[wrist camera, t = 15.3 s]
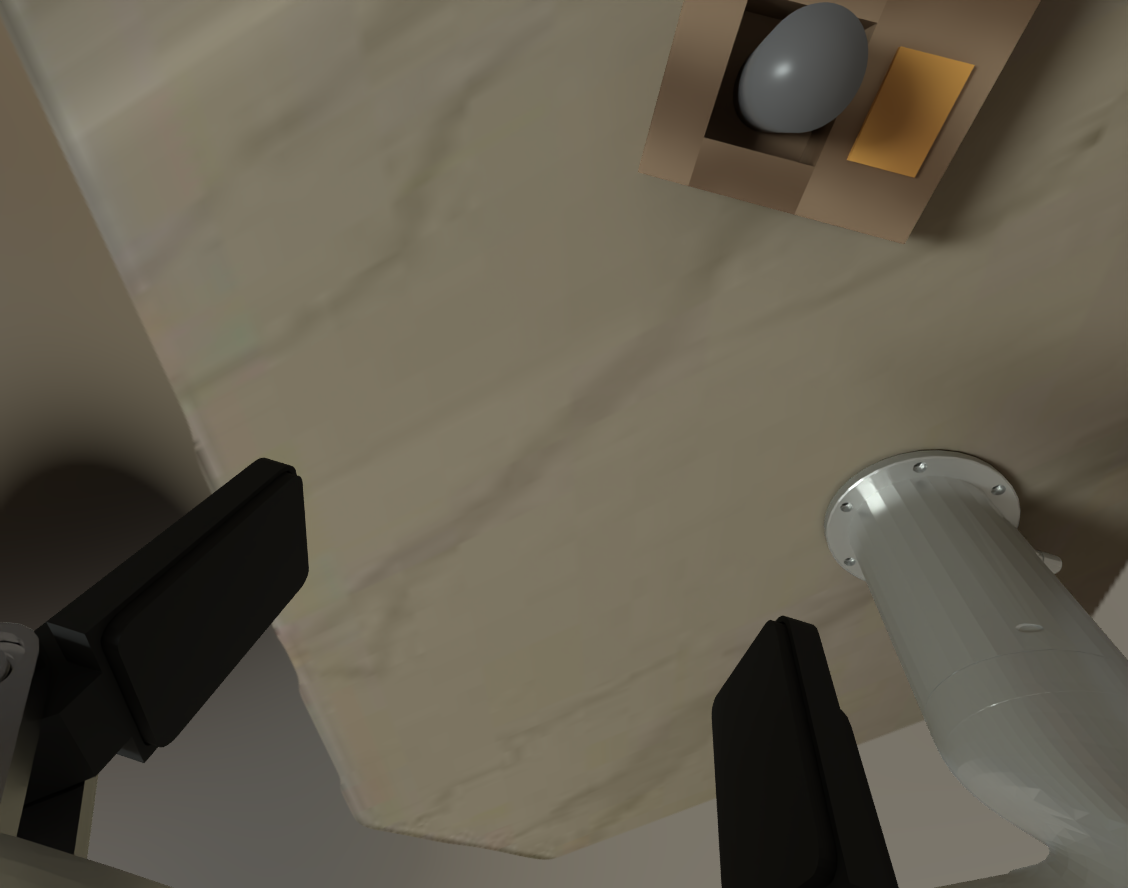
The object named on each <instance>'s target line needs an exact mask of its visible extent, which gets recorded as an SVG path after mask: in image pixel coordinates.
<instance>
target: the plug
mask: <svg viewBox="0 0 1128 888" xmlns="http://www.w3.org/2000/svg"><path fill="white" fill-rule="evenodd" d="M867 62H868V41H867V37H866V33H865V30H864V28H863V26H862V24H861V22H860V21H859V19H858V18H857V17H856V16H855V14H854V13H852V12H851V11H850V10H849V9H847V8H845V7H843V6H841V5H838V4H835V3H829V2H821V3H814V4H810V5H807V6H804V7H802V8H800V9H798V10H796V11H794V12H793V13H791V14H790V15H788V16H787V17H786V18H785V19H783V20H782V21H781V22H780V23H779V24H778V25H777V26H776V27H775V28H774V29H773V30H772V32H771V33H770V34H769V35H768V36H767V37H766V38H765V39H764V40H763V41H762V42H761V43H760V45H759V46H758V47H757V48H756V49H755V50H754V51H753V52H752V53H751V54H750V55H749V57H748V58H747V59H746V60H745V62H744V63H743V65H742V66H741V68H740V70H739V72H738V74H737V77H736V80H735V83H734V89H733V103H734V108H735V111H736V113H737V115H738V117H739V119H740V120H741V121H742V123H743V124H744V125H746V126H747V127H748V128H750V129H752V130H754V131H757V132H773V133H802V132H808V131H812V130H815V129H818V128H820V127H822V126H824V125H826V124H828V123H829V122H830V121H832V120H833V119H835V118H836V117H837V116H838V115H839V114H841V113H842V112H843V110H844V109H845V108H846V107H847V106H848V105H849V104H850V102H851V101H852V100H853V98H854V96H855V95H856V93H857V92H858V90H859V88H860V86H861V83H862V81H863V78H864V75H865V72H866V68H867Z"/></svg>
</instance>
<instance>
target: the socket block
mask: <svg viewBox="0 0 1128 888" xmlns="http://www.w3.org/2000/svg"><path fill="white" fill-rule="evenodd" d="M1040 1H1041V0H684V1H683V5H682V9H681V13H680V16H679V20H678V24H677V28H676V31H675V35H674V39H673V43H672V46H671V50H670V54H669V57H668V61H667V65H666V69H665V72H664V76H663V80H662V84H661V87H660V91H659V95H658V99H657V102H656V106H655V110H654V114H653V117H652V121H651V125H650V128H649V132H648V136H647V140H646V143H645V147H644V151H643V155H642V158H641V162H640V166H639V170H638V172H639V173H643V174H647V175H650V176H654V177H658V178H661V179H665V180H669V181H672V182H676V183H680V184H684V185H687V186H691V187H695V188H698V189H702V190H706V191H709V192H713V193H717V194H721V195H724V196H728V197H732V198H735V199H739V200H743V201H746V202H750V203H754V204H758V205H761V206H765V207H769V208H772V209H776V210H780V211H783V212H787V213H791V214H795V215H798V216H802V217H806V218H809V219H813V220H817V221H820V222H824V223H828V224H832V225H835V226H839V227H843V228H846V229H850V230H854V231H857V232H861V233H865V234H868V235H872V236H876V237H880V238H883V239H887V240H891V241H894V242H898V243H902V244H905V242H906V240H907V239H908V237H909V235H910V233H911V232H912V230H913V228H914V226H915V224H916V223H917V221H918V219H919V217H920V215H921V214H922V212H923V210H924V208H925V207H926V205H927V203H928V201H929V199H930V198H931V196H932V194H933V192H934V190H935V189H936V187H937V185H938V183H939V182H940V180H941V178H942V176H943V174H944V173H945V171H946V169H947V167H948V165H949V164H950V162H951V160H952V158H953V157H954V155H955V153H956V151H957V149H958V148H959V146H960V144H961V142H962V140H963V139H964V137H965V135H966V133H967V132H968V130H969V128H970V126H971V124H972V123H973V121H974V119H975V117H976V115H977V114H978V112H979V110H980V108H981V107H982V105H983V103H984V101H985V99H986V98H987V96H988V94H989V92H990V90H991V89H992V87H993V85H994V83H995V81H996V80H997V78H998V76H999V74H1000V73H1001V71H1002V69H1003V67H1004V65H1005V64H1006V62H1007V60H1008V58H1009V56H1010V55H1011V53H1012V51H1013V49H1014V48H1015V46H1016V44H1017V42H1018V40H1019V39H1020V37H1021V35H1022V33H1023V31H1024V30H1025V28H1026V26H1027V24H1028V23H1029V21H1030V19H1031V17H1032V15H1033V14H1034V12H1035V10H1036V8H1037V6H1038V5H1039V3H1040ZM821 2H829V3H835V4H838V5H841V6H843V7H845V8H847V9H849V10H850V11H851V12H852V13H854V14H855V16H856V17H857V18H858V19H859V21H860V22H861V24H862V26H863V28H864V30H865V33H866V37H867V41H868V62H867V68H866V72H865V75H864V78H863V81H862V83H861V86H860V88H859V90H858V92H857V93H856V95H855V96H854V98H853V100H852V101H851V102H850V104H849V105H848V106H847V107H846V108H845V109H844V110H843V112H842V113H841V114H839V115H838V116H837V117H836V118H835V119H833V120H832V121H830V122H829V123H828V124H826V125H824V126H822V127H820V128H818V129H815V130H812V131H808V132H802V133H773V132H757V131H754V130H752V129H750V128H748V127H747V126H746V125H744V124H743V123H742V121H741V120H740V119H739V117H738V115H737V113H736V111H735V108H734V103H733V89H734V83H735V80H736V77H737V74H738V72H739V70H740V68H741V66H742V65H743V63H744V62H745V60H746V59H747V58H748V57H749V55H750V54H751V53H752V52H753V51H754V50H755V49H756V48H757V47H758V46H759V45H760V43H761V42H762V41H763V40H764V39H765V38H766V37H767V36H768V35H769V34H770V33H771V32H772V30H773V29H774V28H775V27H776V26H777V25H778V24H779V23H780V22H781V21H782V20H783V19H785V18H786V17H787V16H788V15H790V14H791V13H793V12H794V11H796V10H798V9H800V8H802V7H804V6H807V5H810V4H814V3H821Z"/></svg>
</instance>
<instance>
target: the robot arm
mask: <svg viewBox="0 0 1128 888" xmlns="http://www.w3.org/2000/svg"><path fill="white" fill-rule="evenodd" d="M1020 513H1021V510H1020V504H1019V498H1018V496H1017V494H1016V492H1015V490H1014V488H1013V486H1012V485H1011V484H1010V483H1009V482H1008V481H1007V480H1006V478H1005V477H1004V476H1003V475H1002V474H1001V473H1000V472H999V471H997V470H996V469H995V468H994V467H992V466H991V465H990V464H988V463H986V462H984V461H982V460H980V459H978V458H976V457H973V456H970V455H966V454H963V453H959V452H952V451H943V450H928V451H916V452H910V453H904V454H900V455H896V456H893V457H890V458H887V459H884V460H881V461H879V462H877V463H875V464H873V465H871V466H869V467H867V468H865V469H863V470H862V471H860V472H859V473H857V474H856V475H854V476H853V477H852V478H850V479H849V480H848V481H847V482H846V483H845V484H844V485H843V486H842V487H841V488H840V489H839V490H838V492H837V493H836V494H835V496H834V497H833V499H832V500H831V502H830V504H829V506H828V509H827V511H826V515H825V520H824V533H825V538H826V541H827V544H828V547H829V549H830V551H831V553H832V555H833V557H834V559H835V560H836V561H837V562H838V563H839V565H840V566H841V567H842V568H844V569H845V570H846V571H848V572H849V573H850V574H852V575H853V576H855V577H857V578H859V579H862V580H864V581H866V582H867V584H868V587H869V589H870V592H871V594H872V596H873V599H874V601H875V603H876V606H877V608H878V611H879V613H880V615H881V618H882V620H883V622H884V625H885V627H886V629H887V632H888V634H889V637H890V639H891V641H892V644H893V646H894V648H895V651H896V653H897V655H898V658H899V660H900V663H901V665H902V667H903V670H904V672H905V674H906V677H907V679H908V681H909V684H910V686H911V689H912V691H913V693H914V696H915V698H916V700H917V703H918V705H919V707H920V710H921V712H922V715H923V717H924V719H925V722H926V724H927V726H928V729H929V731H930V733H931V736H932V738H933V741H934V743H935V745H936V747H937V749H938V751H939V753H940V755H941V757H942V759H943V760H944V762H945V763H946V765H947V766H948V768H949V769H950V771H951V772H952V773H953V775H954V776H955V777H956V778H957V779H958V780H959V782H960V783H961V784H962V785H963V786H964V787H965V788H966V789H967V790H968V791H969V792H970V793H971V794H972V795H973V796H974V797H976V798H977V799H978V800H979V801H980V802H982V803H983V804H984V805H985V806H987V807H988V808H989V809H991V810H992V811H994V812H995V813H996V814H998V815H999V816H1001V817H1002V818H1004V819H1005V820H1007V821H1008V822H1010V823H1012V824H1013V825H1015V826H1016V827H1018V828H1019V829H1021V830H1022V831H1024V832H1026V833H1027V834H1029V835H1030V836H1032V837H1034V838H1035V839H1037V840H1039V841H1040V842H1042V843H1043V844H1045V845H1047V846H1048V847H1049V855H1048V856H1047V858H1046V859H1045V860H1044V861H1042V862H1040V863H1038V864H1036V865H1031V866H1028V867H1023V868H1019V869H1015V870H1012V871H1010V872H1009V873H1008V874H1004V875H998V876H993V877H988V878H983V879H977V880H973V881H967V882H962V883H957V884H951V885H947V886H941V887H936V888H1128V660H1127V659H1126V657H1125V656H1124V655H1123V654H1122V653H1121V652H1120V651H1119V649H1118V648H1117V647H1116V646H1115V645H1114V644H1113V642H1112V641H1111V640H1110V639H1109V638H1108V637H1107V635H1106V634H1105V633H1104V632H1103V631H1102V630H1101V628H1100V627H1099V626H1098V625H1097V624H1096V623H1095V621H1094V620H1093V619H1092V618H1091V617H1090V616H1089V614H1088V613H1087V612H1086V611H1085V610H1084V609H1083V607H1082V606H1081V605H1080V604H1079V603H1078V602H1077V600H1076V599H1075V598H1074V597H1073V596H1072V595H1071V593H1070V592H1069V591H1068V590H1067V589H1066V588H1065V586H1064V585H1063V584H1062V583H1061V582H1060V581H1059V579H1058V578H1057V577H1056V576H1055V575H1054V574H1056V573H1057V572H1059V571H1060V569H1061V568H1062V561H1061V559H1060V557H1058V556H1056V555H1053V554H1050V553H1046V552H1043V551H1039V550H1035V549H1034V548H1033V547H1032V546H1031V545H1030V543H1029V542H1028V541H1027V540H1026V539H1025V538H1024V536H1023V535H1022V534H1021V533H1020V532H1019V531H1018V529H1017V528H1018V526H1019V521H1020ZM308 572H309V565H308V551H307V538H306V524H305V510H304V497H303V483H302V478H301V477H300V476H297V474H296V470H295V468H294V467H293V466H290V465H287V464H284V463H280V462H277V461H274V460H270V459H267V458H260V459H258V460H256V461H254V462H253V463H252V464H251V465H249V466H248V467H247V468H245V469H244V470H243V471H241V472H240V473H239V474H238V475H236V476H235V477H234V478H232V479H231V480H230V481H229V482H227V483H226V484H225V485H223V486H222V487H221V488H219V489H218V490H217V491H216V492H214V493H213V494H212V495H210V496H209V497H208V498H207V499H205V500H204V501H203V502H201V503H200V504H199V505H197V506H196V507H195V508H193V509H192V510H191V511H190V512H188V513H187V514H186V515H185V516H183V517H182V518H180V519H179V520H178V521H177V522H175V523H174V524H173V525H171V526H170V527H169V528H167V529H166V530H165V531H164V532H162V533H161V534H160V535H158V536H157V537H156V538H154V539H153V540H152V541H151V542H149V543H148V544H147V545H145V546H144V547H143V548H141V549H140V550H139V551H138V552H136V553H135V554H134V555H132V556H131V557H130V558H128V559H127V560H126V561H125V562H123V563H122V564H121V565H119V566H118V567H117V568H115V569H114V570H113V571H112V572H110V573H109V574H108V575H107V576H105V577H104V578H102V579H101V580H100V581H99V582H97V583H96V584H95V585H93V586H92V587H91V588H89V589H88V590H87V591H86V592H84V593H83V594H82V595H80V596H79V597H78V598H76V599H75V600H74V601H73V602H71V603H70V604H69V605H67V606H66V607H65V608H63V609H62V610H61V611H60V612H58V613H57V614H56V615H54V616H53V617H52V618H50V619H49V620H48V621H47V622H46V623H44V624H43V625H42V626H40V627H39V628H38V629H36V630H35V631H33V630H32V629H30V628H28V627H26V626H23V625H21V624H16V623H5V622H0V888H173V887H170V886H167V885H164V884H160V883H158V882H155V881H152V880H149V879H146V878H143V877H140V876H137V875H134V874H131V873H128V872H125V871H123V870H120V869H116V868H114V867H110V866H107V865H104V864H101V863H98V862H94V861H91V860H88V859H87V854H88V847H89V840H90V832H91V825H92V817H93V810H94V802H95V795H96V787H97V780H98V773H99V772H100V771H101V770H102V769H103V768H104V767H105V766H106V764H107V763H108V762H109V761H110V760H111V759H112V758H113V757H114V756H115V755H116V754H119V755H121V756H125V757H127V758H131V759H133V760H136V761H139V762H142V763H145V761H146V760H147V759H148V758H149V757H150V756H151V755H152V754H153V752H154V751H155V750H156V748H158V747H164V746H167V745H168V744H169V743H171V742H172V741H173V740H174V739H175V738H176V737H177V736H178V735H179V734H180V732H181V731H182V730H183V729H184V727H185V726H186V725H187V724H188V723H189V721H190V720H191V719H192V718H193V717H194V715H195V714H196V713H197V712H198V711H199V710H200V708H201V707H202V706H203V705H204V704H205V702H206V701H207V700H208V699H209V698H210V696H211V695H212V694H213V693H214V691H215V690H216V689H217V688H218V687H219V686H220V684H221V683H222V682H223V681H224V679H225V678H226V677H227V676H228V675H229V674H230V672H231V671H232V670H233V669H234V667H235V666H236V665H237V664H238V663H239V662H240V660H241V659H242V658H243V657H244V655H245V654H246V653H247V652H248V651H249V649H250V648H251V647H252V646H253V645H254V643H255V642H256V641H257V640H258V639H259V638H260V636H261V635H262V634H263V633H264V632H265V630H266V629H267V628H268V627H269V625H270V624H271V623H272V622H273V621H274V620H275V618H276V617H277V616H278V615H279V614H280V612H281V611H282V610H283V609H284V608H285V606H286V605H287V604H288V603H289V602H290V600H291V599H292V598H293V597H294V596H295V594H296V593H297V592H298V591H299V590H300V588H301V587H302V586H303V584H304V582H305V581H306V578H307V576H308ZM712 730H713V747H714V764H715V781H716V798H717V812H718V813H717V814H718V832H719V850H720V865H721V884H722V888H899V887H898V884H897V880H896V877H895V874H894V870H893V867H892V863H891V860H890V856H889V853H888V850H887V847H886V843H885V839H884V836H883V833H882V829H881V826H880V822H879V819H878V816H877V812H876V809H875V806H874V802H873V799H872V795H871V792H870V789H869V785H868V782H867V778H866V775H865V772H864V768H863V765H862V761H861V758H860V755H859V751H858V748H857V744H856V741H855V737H854V734H853V731H852V727H851V725H850V722H849V720H848V717H847V716H846V715H845V713H844V712H843V711H842V710H840V706H839V703H838V699H837V696H836V692H835V689H834V685H833V682H832V678H831V675H830V671H829V668H828V664H827V661H826V657H825V654H824V650H823V647H822V643H821V639H820V636H819V633H818V630H817V628H816V627H815V626H814V625H812V624H809V623H806V622H802V621H799V620H796V619H793V618H789V617H786V616H780V617H779V618H778V619H777V620H776V621H772V620H769V621H768V622H767V623H766V624H765V625H764V627H763V628H762V630H761V631H760V633H759V634H758V636H757V637H756V638H755V640H754V641H753V643H752V644H751V646H750V647H749V649H748V650H747V652H746V653H745V655H744V656H743V657H742V659H741V660H740V662H739V663H738V665H737V666H736V668H735V669H734V671H733V672H732V674H731V675H730V677H729V678H728V679H727V681H726V682H725V684H724V685H723V687H722V688H721V690H720V691H719V693H718V694H717V696H716V697H715V700H714V703H713V707H712Z"/></svg>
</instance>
